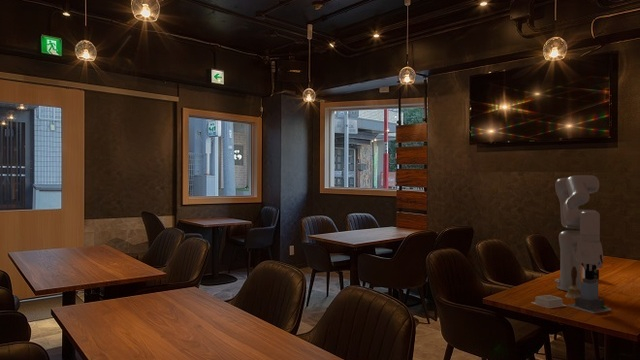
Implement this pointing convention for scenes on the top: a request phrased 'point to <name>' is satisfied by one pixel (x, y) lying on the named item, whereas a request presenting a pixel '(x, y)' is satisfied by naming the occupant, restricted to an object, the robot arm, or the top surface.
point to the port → (590, 305)
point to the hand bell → (573, 286)
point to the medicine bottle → (596, 274)
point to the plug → (589, 289)
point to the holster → (548, 301)
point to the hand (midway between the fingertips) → (589, 278)
